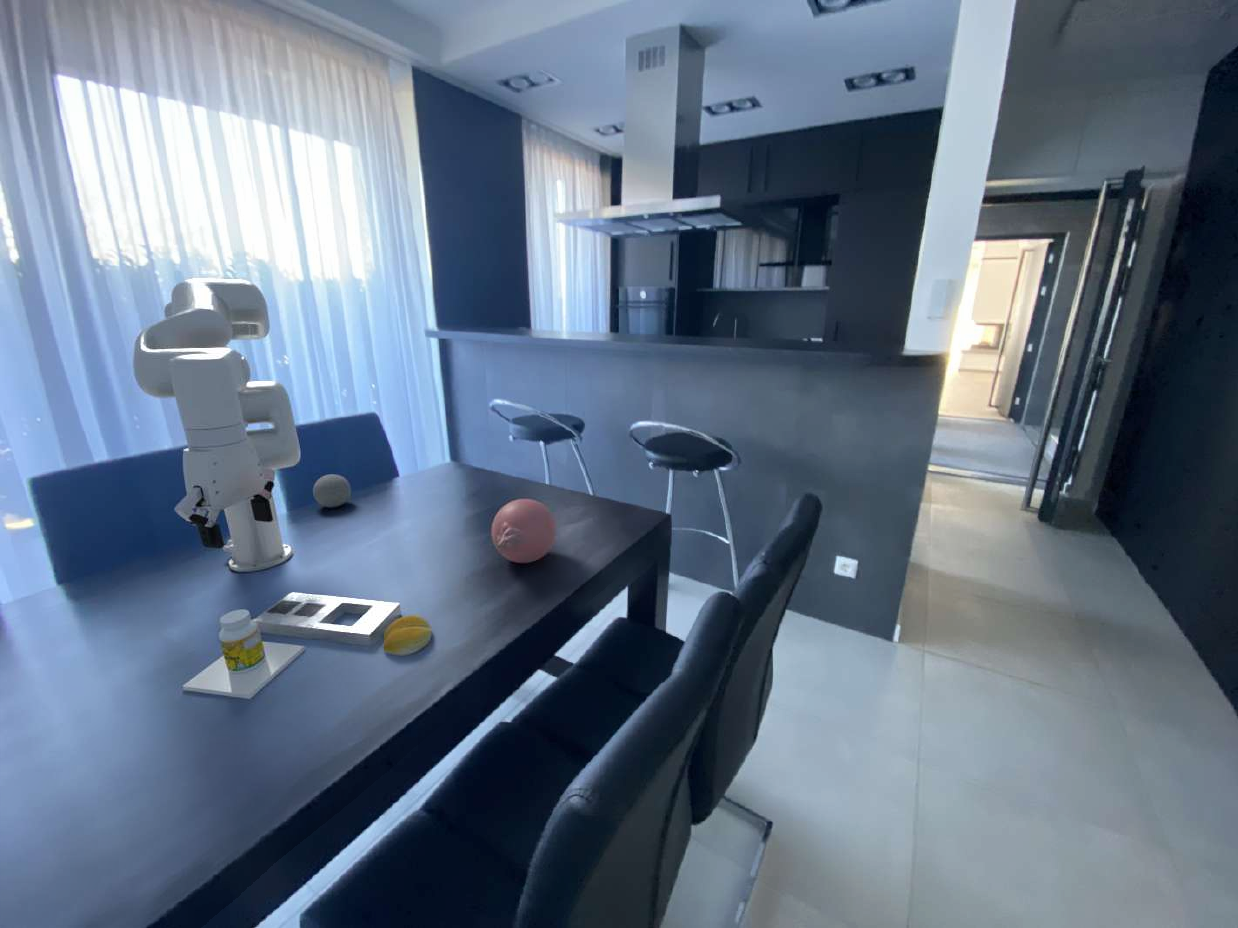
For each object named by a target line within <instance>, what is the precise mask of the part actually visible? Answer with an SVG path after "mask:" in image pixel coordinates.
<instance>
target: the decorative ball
mask: <svg viewBox="0 0 1238 928" xmlns="http://www.w3.org/2000/svg"><path fill="white" fill-rule="evenodd" d="M312 494H313V497H314V500H315V501H316V502H317V503H318V504H319V505H321V506H323V507H326V508H338V507H340V506H342V505H344V504H345V503H346V502H348V500H349V499H350V497H351V494H352V487H351V485H350V483H349V481H348V480H347V479H346V478H345V477H344V476H342V475H340V474H336V473H335V474H332V473H331V474H326V475H324V476H321V477H320V478H319V479H317V480H316V482H315V483H314V485H313V488H312Z"/></svg>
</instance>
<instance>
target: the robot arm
mask: <svg viewBox="0 0 1238 928" xmlns="http://www.w3.org/2000/svg"><path fill="white" fill-rule="evenodd" d="M163 310H164V312H163V313H164V316H165V319H162V320H160V321H158V322H156V323H154V324H152V325H150V326H148V327H146V328H145V329H143V330H142V331H141V332H140V333H139V335H138V336H137V337H136V340H135V342H134V347H133V348H134V350H133V360H132V361H133V362H132V366H133V375H134V378H135V381H136V383H137V385H138V387H139V388H140V389H141V390H142V392H144V393H145V394H147V395H148V396H150V397H154V398H157V399H169V398H170V399H172V398H175V401H176V405H177V409H178V413H179V417H180V420H181V424H182V428H183V431H184V436H185V438H186V443H187V444H186V445H187V448H184V449H183V452H182V470H183V479H184V485H185V490H186V491H185V492H186V495H185V496H184V497H183V498H182V499H181V500H180V502H179V503H177V504H176V506H175V507H174V508H173V510H174V512H176V514H178V516H180V517H181V518H182V519H183V521H185V522H187V523H190V524H191V525H193V526H196V527H197V529H198V531H199V535H200V539H201V543H202V545H203V546H204V548H213V549H221V548H222V551H223V552H225V553H226V552H227V553H231V558H230V559H229V560H228V566H229V568H230V570H232V571H235V572H239V573H245V572H246V573H250V572H251V573H252V572H258V571H262V570H267V569H270V568H273V567H276V566H277V565H280V564H283V563H284V562H286V561H287V560H288V559H290V557H291V556H292V555H293V550H292V546H290V545H288V544H285V543H283V538H282V534H281V533H282V532H281V528H280V524H279V519H278V515H277V509H276V505H275V501H274V500H275V499H274V496H273V495H274V494H273V489H274V486H275V482H274V481H275V476H276V470H279V469H284V468H285V469H286V468H290V467H293V466H296V465H297V464H298V463H299V462H300V461H301V448H300V442H299V437H298V432H297V427H296V424H295V417H294V413H293V408H292V404H291V401H290V396H289V394H288V391H287V389H286V388H285V387H284V385H282V384H281V383H280V382H277V381H275V380H262V381H261V380H259V381H251V369H250V368H251V367H250V365H249V362H248V360H247V359H246V358H245V357H244V356H243V355H242V354H241V353H240V352H239V351H238V350H235V349H233V348H230V347H228V346H227V345H229V344H230V343H231V341H239V340H240V341H243V340H247V341H248V340H250V341H251V340H252V341H253V340H261V339H265V338H266V337H267V336H268V335H269V333H270V328H271V327H270V326H271V325H270V316H269V310H268V305H267V302H266V299H265V296H264V294H263V293H262V290H260V288H259V287H258V286H257V285H255V284H254V283H253V282H251V281H247V280H245V279H244V280H243V279H221V278H218V279H217V278H190V279H185V280H182V281H180V282H178V283H177V284H176V285H175V286H174V287H173V288H172V292H171V301H170V302H168V303H167V304H166V305H165V307H164V309H163ZM258 424H270V425H272V427H273V428H272V427H271V428H263V429H249V430H247V429H246V428H248V427H249V425H258ZM194 509H195V510H196V512H195V511H194ZM223 510H224V515H225V518H226V522H227V525H228V530H229V534H230V539H228V540H227V541H226V545H225V542H224V539H223V535H222V532H221V531H222V530H221V527H220V525H219V524H217V523H216V522H217V521H216V520H218V519H217V518H218V516H219V514H220V511H223ZM207 511H208V513H207ZM206 515H207V516H206Z"/></svg>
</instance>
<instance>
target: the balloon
mask: <svg viewBox="0 0 1238 928" xmlns="http://www.w3.org/2000/svg"><path fill="white" fill-rule="evenodd" d="M553 515H554V514H553V513H552V512H551V511H550V509H548V507H546V505H544V504H543V503H541V502H540V501H537V500H534V499H530V498H518V499H515V500H512V501H510V502H508V503H507V504H505V505H504V506H502V507H501V508H500V509H499V511H498V512H497V513H496V515H495V516H494V519H493V521H492V525H491V539H492V542H493V544H494V547H495V548H496V550H497V551H498V553H499V554H500V555H501V556H502V557H504V558H505V559H507V560H508V561H511V562H513V563H518V564H529V563H532V562H536V561H538V560H540V559H542V558H543V557H544V556H545V555H547V553H548V552H549V551H550V550H551V549H552V548H553V545H554V544H555V540H556V536H557V523H556V520H555V518H554V516H553Z"/></svg>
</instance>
